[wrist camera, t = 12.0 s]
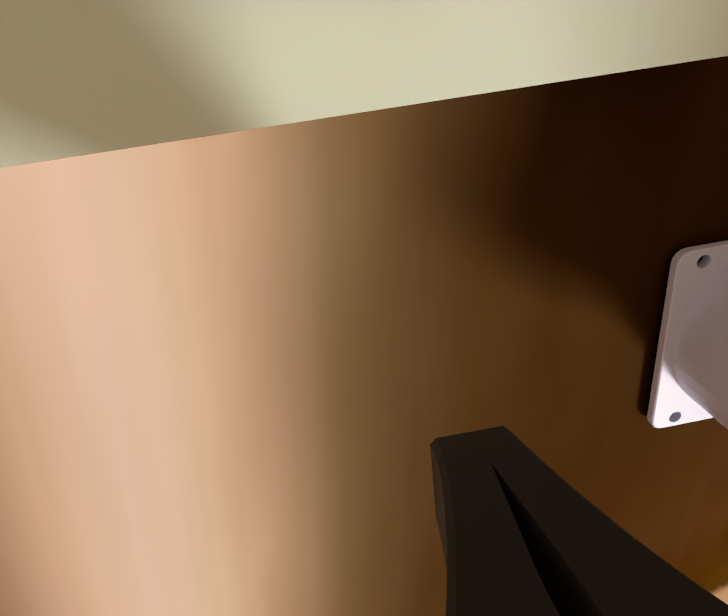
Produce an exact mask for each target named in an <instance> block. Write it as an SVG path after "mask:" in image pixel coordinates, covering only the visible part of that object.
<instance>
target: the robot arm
mask: <svg viewBox="0 0 728 616" xmlns="http://www.w3.org/2000/svg"><path fill="white" fill-rule="evenodd" d="M701 256H703V258H702V260H701V261H700V262H699V263H698V264H697V262H698V259H699V258H700V257H701ZM713 417H714V418H715V419H716V420H717V421H719V422H720V423H721V424H722V425H723V426H724V427H726V428H727V429H728V240H726V241H721V242H715V243H709V244H704V245H698V246H693V247H687V248H684V249H681V250H680V251H678V252H677V253H676V254H675V255H674V257H673V258H672V261H671V265H670V271H669V278H668V284H667V291H666V297H665V304H664V310H663V317H662V323H661V330H660V336H659V343H658V349H657V356H656V362H655V369H654V375H653V381H652V388H651V394H650V401H649V407H648V414H647V420H648V421H649V422H650V423H651V424H652V425H653V426H654V427H656V428H664V427H669V426H674V425H679V424H684V423H689V422H694V421H699V420H704V419H708V418H713ZM430 446H431V459H432V471H433V484H434V496H435V509H436V518H437V522H438V526H439V531H440V535H441V540H442V545H443V551H444V556H445V562H446V568H447V605H446V616H728V605H727V604H726V603H724V602H723V601H721V600H720V599H718V598H717V597H715V596H714V595H712V594H711V593H709V592H708V591H706V590H705V589H704V588H702V587H701V586H699V585H698V584H696V583H695V582H694V581H692V580H691V579H689V578H688V577H687V576H685V575H684V574H682V573H681V572H680V571H678V570H677V569H675V568H674V567H673V566H671V565H670V564H669V563H667V562H666V561H665V560H663V559H662V558H661V557H659V556H658V555H657V554H655V553H654V552H653V551H651V550H650V549H649V548H647V547H646V546H645V545H643V544H642V543H641V542H639V541H638V540H637V539H635V538H634V537H633V536H632V535H630V534H629V533H628V532H626V531H625V530H624V529H623V528H621V527H620V526H619V525H618V524H616V523H615V522H614V521H613V520H611V519H610V518H609V517H608V516H607V515H605V514H604V513H603V512H602V511H600V510H599V509H598V508H597V507H596V506H594V505H593V504H592V503H591V502H590V501H588V500H587V499H586V498H585V497H583V496H582V495H581V494H580V493H579V492H577V491H576V490H575V489H574V488H573V487H572V486H571V485H569V484H568V483H567V482H566V481H565V480H564V479H562V478H561V477H560V476H559V475H558V474H557V473H556V472H555V471H553V470H552V469H551V468H550V467H549V466H548V465H547V464H545V463H544V462H543V461H542V460H541V459H540V458H539V457H538V456H537V455H536V454H534V453H533V452H532V451H531V450H530V449H529V448H528V447H527V446H526V445H525V444H524V443H523V442H521V441H520V440H519V439H518V438H517V437H516V436H515V435H514V434H513V433H512V432H511V431H510V430H508V429H507V428H506V427H504V426H500V427H495V428H489V429H484V430H478V431H473V432H467V433H462V434H456V435H451V436H446V437H440V438H436V439H435V440H434V441H433V442H432V443H431V444H430Z"/></svg>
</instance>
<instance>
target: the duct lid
mask: <svg viewBox="0 0 728 616" xmlns="http://www.w3.org/2000/svg"><path fill="white" fill-rule="evenodd" d="M723 56H728V0H0V168H3V167H9V166H16V165H22V164H29V163H35V162H42V161H48V160H55V159H61V158H68V157H74V156H81V155H87V154H94V153H100V152H107V151H113V150H119V149H126V148H132V147H139V146H145V145H152V144H158V143H165V142H171V141H178V140H184V139H191V138H197V137H204V136H210V135H217V134H223V133H230V132H236V131H243V130H249V129H256V128H262V127H269V126H275V125H282V124H288V123H295V122H301V121H308V120H314V119H321V118H327V117H334V116H340V115H347V114H353V113H360V112H366V111H373V110H379V109H386V108H392V107H399V106H405V105H411V104H418V103H424V102H431V101H437V100H444V99H450V98H457V97H463V96H470V95H476V94H483V93H489V92H496V91H502V90H509V89H515V88H522V87H528V86H535V85H541V84H548V83H554V82H561V81H567V80H574V79H580V78H587V77H593V76H600V75H606V74H613V73H619V72H626V71H632V70H639V69H645V68H652V67H658V66H665V65H671V64H678V63H684V62H691V61H697V60H703V59H710V58H716V57H723Z"/></svg>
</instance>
